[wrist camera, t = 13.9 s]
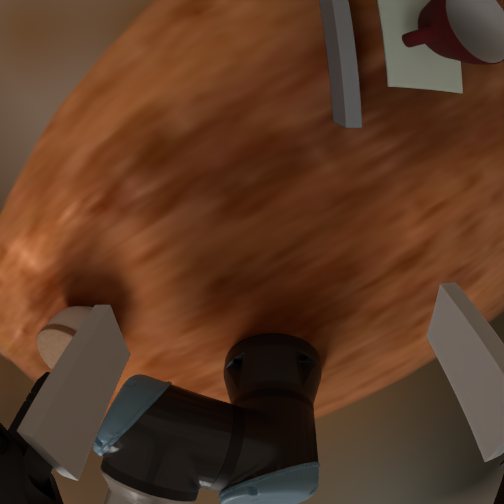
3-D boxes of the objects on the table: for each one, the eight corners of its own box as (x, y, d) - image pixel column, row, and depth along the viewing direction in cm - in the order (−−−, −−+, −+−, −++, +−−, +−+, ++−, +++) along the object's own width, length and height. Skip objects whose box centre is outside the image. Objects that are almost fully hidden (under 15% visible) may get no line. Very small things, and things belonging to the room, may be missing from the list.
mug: (410, 85, 28) (457, 86, 19) (371, 23, 25) (406, 1, 16) (471, 53, 25) (523, 50, 16) (437, -6, 22) (482, -25, 13)
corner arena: (483, 127, 29) (511, 136, 24) (333, 121, 31) (346, 127, 26) (462, -33, 19) (487, -44, 14) (307, -58, 21) (314, -82, 16)
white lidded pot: (131, 358, 50) (110, 408, 40) (69, 340, 49) (42, 383, 40) (126, 302, 44) (96, 354, 34) (56, 283, 43) (20, 327, 34)
